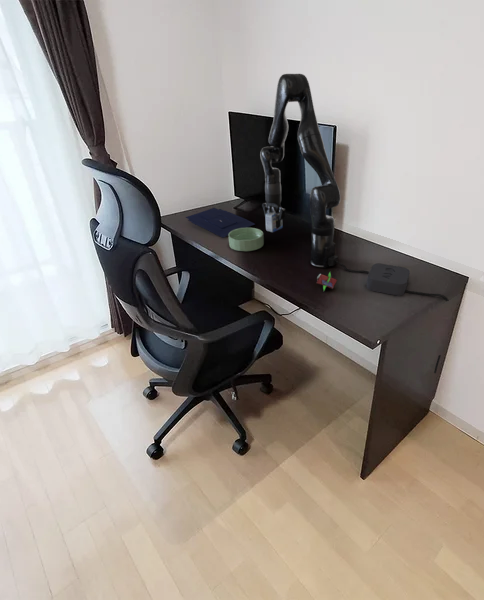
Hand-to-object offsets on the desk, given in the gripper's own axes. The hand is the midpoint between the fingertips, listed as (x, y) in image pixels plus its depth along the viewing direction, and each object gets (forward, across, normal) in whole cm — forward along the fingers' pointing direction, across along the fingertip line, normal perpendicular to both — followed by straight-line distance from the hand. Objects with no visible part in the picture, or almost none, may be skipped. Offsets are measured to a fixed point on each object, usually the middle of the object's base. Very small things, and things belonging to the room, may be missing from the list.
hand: (274, 226), depth 182 cm
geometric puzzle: (+5, +52, -25) cm, 58 cm away
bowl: (+5, -2, -17) cm, 18 cm away
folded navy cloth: (+5, -32, -9) cm, 34 cm away
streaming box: (+5, +68, -7) cm, 69 cm away
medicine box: (+2, 0, 0) cm, 2 cm away
